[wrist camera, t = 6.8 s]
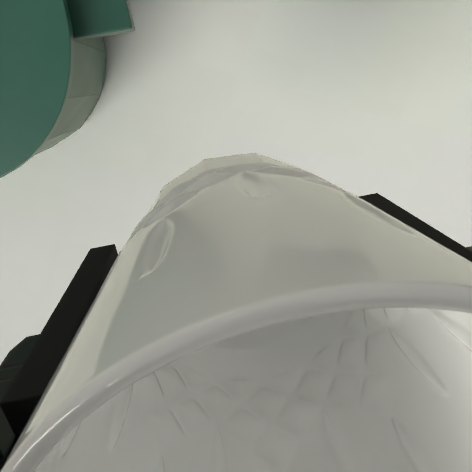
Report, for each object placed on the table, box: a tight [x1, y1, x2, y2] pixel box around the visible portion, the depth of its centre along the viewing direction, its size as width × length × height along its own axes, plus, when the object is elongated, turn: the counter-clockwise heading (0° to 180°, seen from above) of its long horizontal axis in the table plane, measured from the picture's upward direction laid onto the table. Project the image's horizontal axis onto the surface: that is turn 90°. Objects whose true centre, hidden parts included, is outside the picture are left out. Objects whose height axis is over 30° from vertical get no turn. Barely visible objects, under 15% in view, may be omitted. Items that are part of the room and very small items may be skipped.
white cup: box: [0, 153, 472, 472], centre depth 9 cm, size 8×8×10 cm
